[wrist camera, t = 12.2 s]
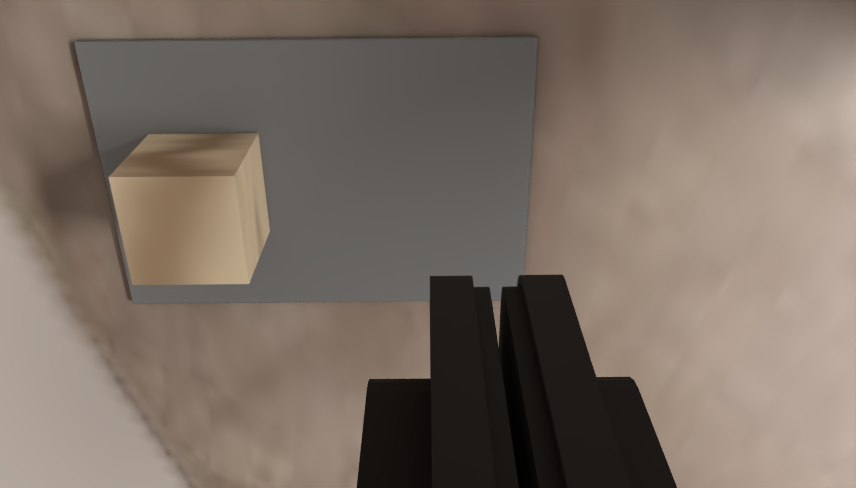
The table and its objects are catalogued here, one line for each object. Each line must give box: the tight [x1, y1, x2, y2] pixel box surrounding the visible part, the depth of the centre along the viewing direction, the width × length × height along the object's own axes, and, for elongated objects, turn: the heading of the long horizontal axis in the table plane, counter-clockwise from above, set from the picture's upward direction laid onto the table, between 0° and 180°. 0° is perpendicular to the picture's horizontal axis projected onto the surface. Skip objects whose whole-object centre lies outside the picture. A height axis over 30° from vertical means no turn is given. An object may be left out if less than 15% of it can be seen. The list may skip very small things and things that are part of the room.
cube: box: [108, 133, 270, 285], centre depth 40 cm, size 6×6×6 cm
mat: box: [74, 36, 538, 304], centre depth 43 cm, size 24×16×1 cm, turn 90°
